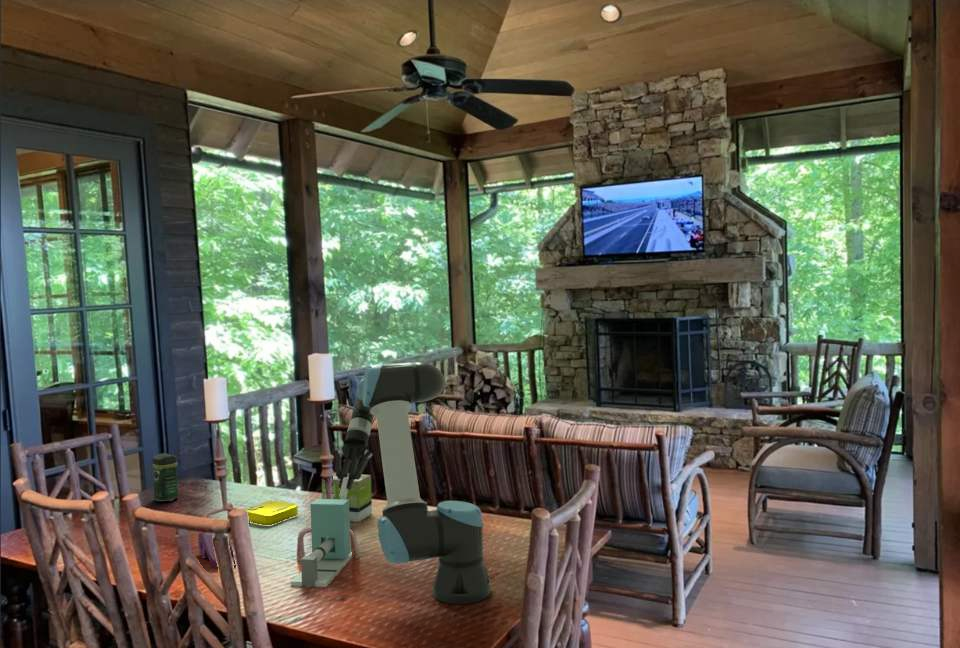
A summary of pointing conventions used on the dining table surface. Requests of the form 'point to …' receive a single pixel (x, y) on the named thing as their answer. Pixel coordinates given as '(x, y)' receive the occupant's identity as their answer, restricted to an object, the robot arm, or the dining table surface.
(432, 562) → the dining table surface
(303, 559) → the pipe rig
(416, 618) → the dining table surface
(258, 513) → the element tile
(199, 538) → the mounting bracket
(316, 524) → the sleeve
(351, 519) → the tea box
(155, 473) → the coffee jar
